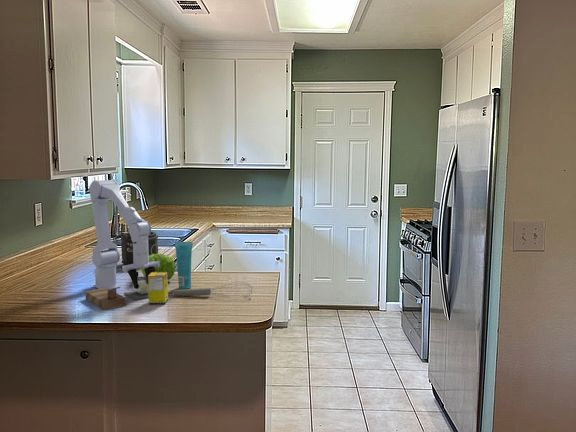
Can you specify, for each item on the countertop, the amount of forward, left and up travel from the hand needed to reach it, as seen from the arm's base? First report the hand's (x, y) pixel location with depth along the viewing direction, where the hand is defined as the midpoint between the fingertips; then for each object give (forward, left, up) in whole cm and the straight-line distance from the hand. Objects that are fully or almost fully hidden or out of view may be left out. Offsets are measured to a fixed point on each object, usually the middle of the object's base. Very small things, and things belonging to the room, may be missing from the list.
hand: (142, 287), depth 203 cm
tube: (+1, +18, -3) cm, 18 cm away
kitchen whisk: (+20, +19, -3) cm, 28 cm away
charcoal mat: (0, 0, -3) cm, 3 cm away
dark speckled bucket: (-54, +24, -3) cm, 59 cm away
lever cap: (0, 0, -2) cm, 2 cm away
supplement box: (+14, 0, -3) cm, 14 cm away
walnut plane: (+1, -15, -3) cm, 15 cm away
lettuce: (-20, +15, -3) cm, 25 cm away
